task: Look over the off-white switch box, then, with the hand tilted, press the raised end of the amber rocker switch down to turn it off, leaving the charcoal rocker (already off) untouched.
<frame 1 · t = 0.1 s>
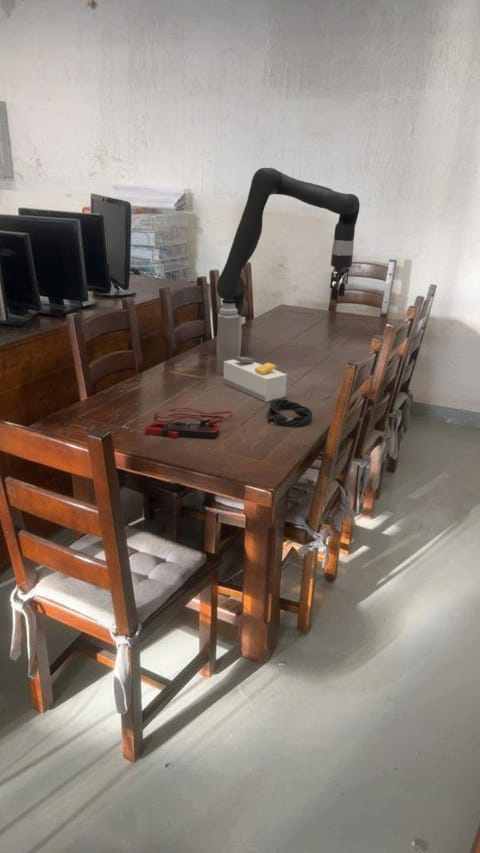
hand: (337, 298, 219), 29 cm above the table, tool pointing down, fingers open, 8 cm apart
charcoal rocker: (244, 360, 211), point 9 cm above the table, hinge at -12.0°
digital clamp meter: (191, 425, 181), on the table
cable: (289, 417, 188), on the table
amber rocker: (265, 369, 203), point 9 cm above the table, hinge at 12.0°
switch box: (253, 389, 211), on the table
thermos bottle: (227, 372, 227), on the table
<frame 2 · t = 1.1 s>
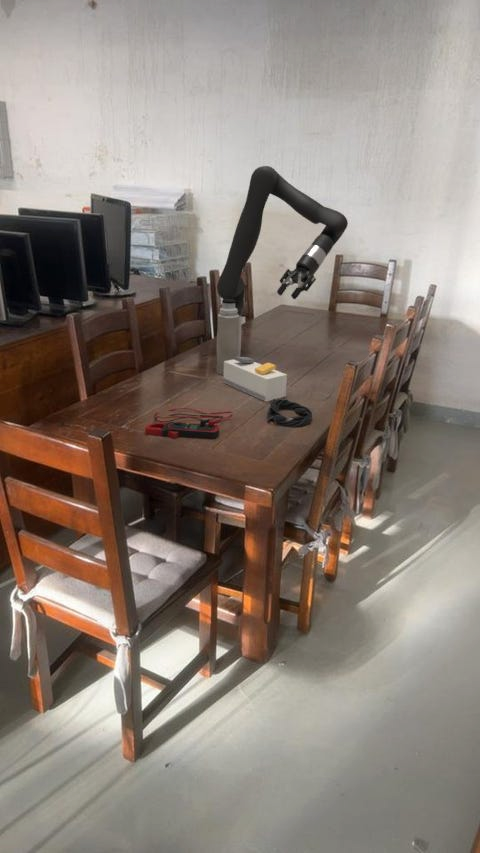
hand: (285, 295, 214), 30 cm above the table, tool tilted 45°, fingers open, 7 cm apart
nothing on the table moved.
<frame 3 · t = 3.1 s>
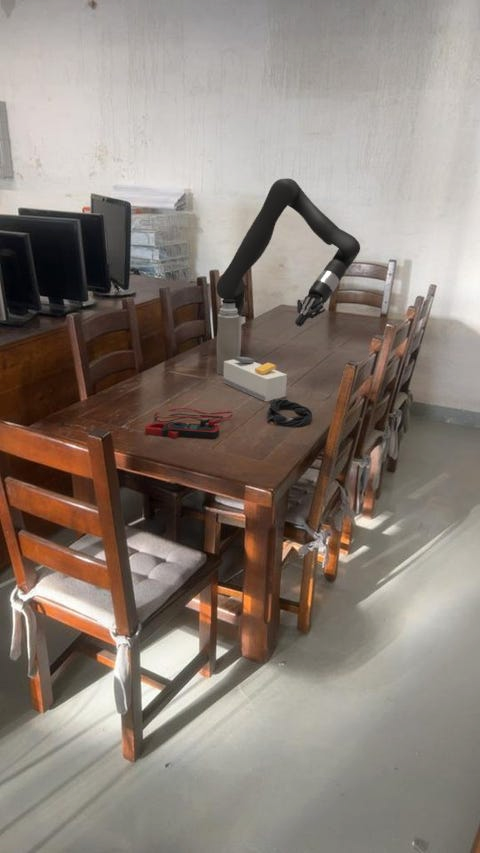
hand: (297, 324, 209), 22 cm above the table, tool tilted 45°, fingers closed
nothing on the table moved.
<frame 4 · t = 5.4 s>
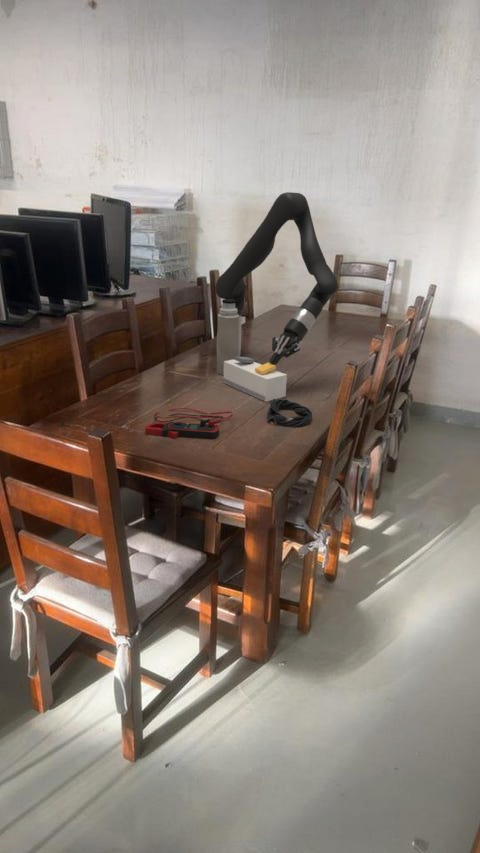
hand: (271, 363, 204), 11 cm above the table, tool tilted 45°, fingers closed
amber rocker: (265, 369, 203), point 9 cm above the table, hinge at 11.2°, touching gripper
everything else where it was.
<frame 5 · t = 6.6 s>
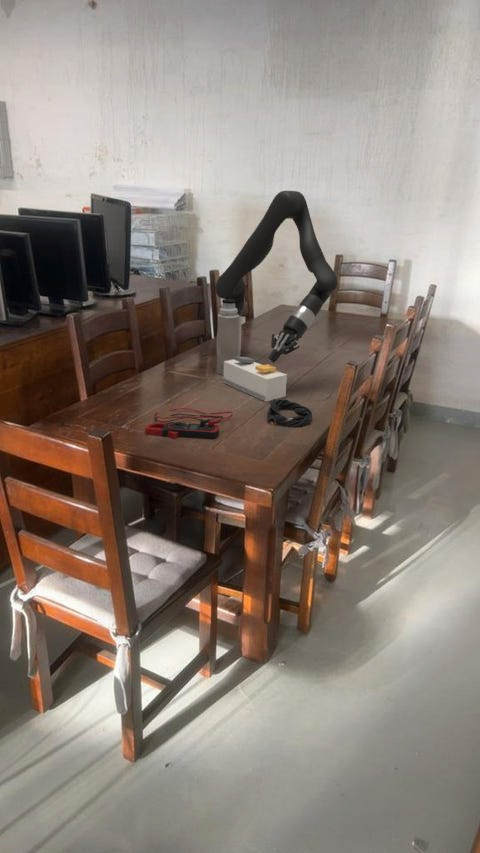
hand: (271, 360, 203), 12 cm above the table, tool tilted 45°, fingers closed
amber rocker: (265, 369, 203), point 9 cm above the table, hinge at -3.8°
everything else where it was.
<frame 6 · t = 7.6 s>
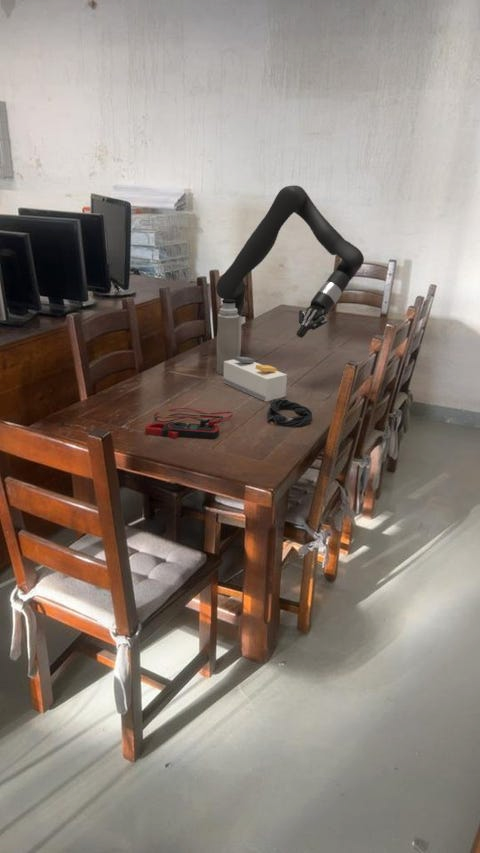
hand: (299, 336, 208), 19 cm above the table, tool tilted 45°, fingers closed
amber rocker: (265, 369, 203), point 9 cm above the table, hinge at -10.4°
everything else where it was.
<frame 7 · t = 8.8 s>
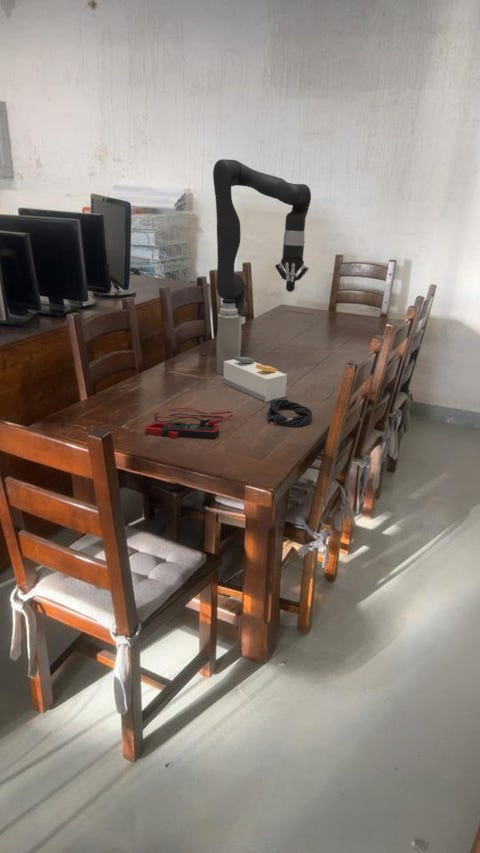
hand: (290, 291, 220), 31 cm above the table, tool pointing down, fingers closed
amber rocker: (265, 369, 203), point 9 cm above the table, hinge at -15.4°
everything else where it was.
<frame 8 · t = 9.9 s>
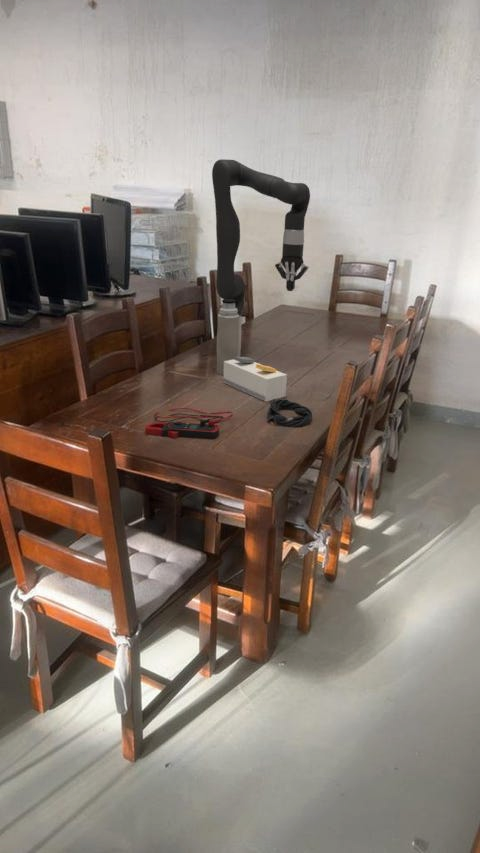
hand: (290, 290, 220), 31 cm above the table, tool pointing down, fingers closed
amber rocker: (265, 369, 203), point 9 cm above the table, hinge at -17.2°, touching switch box
everything else where it was.
at the end: amber rocker at -17° (first picture: +12°); charcoal rocker at -12° (first picture: -12°) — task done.
